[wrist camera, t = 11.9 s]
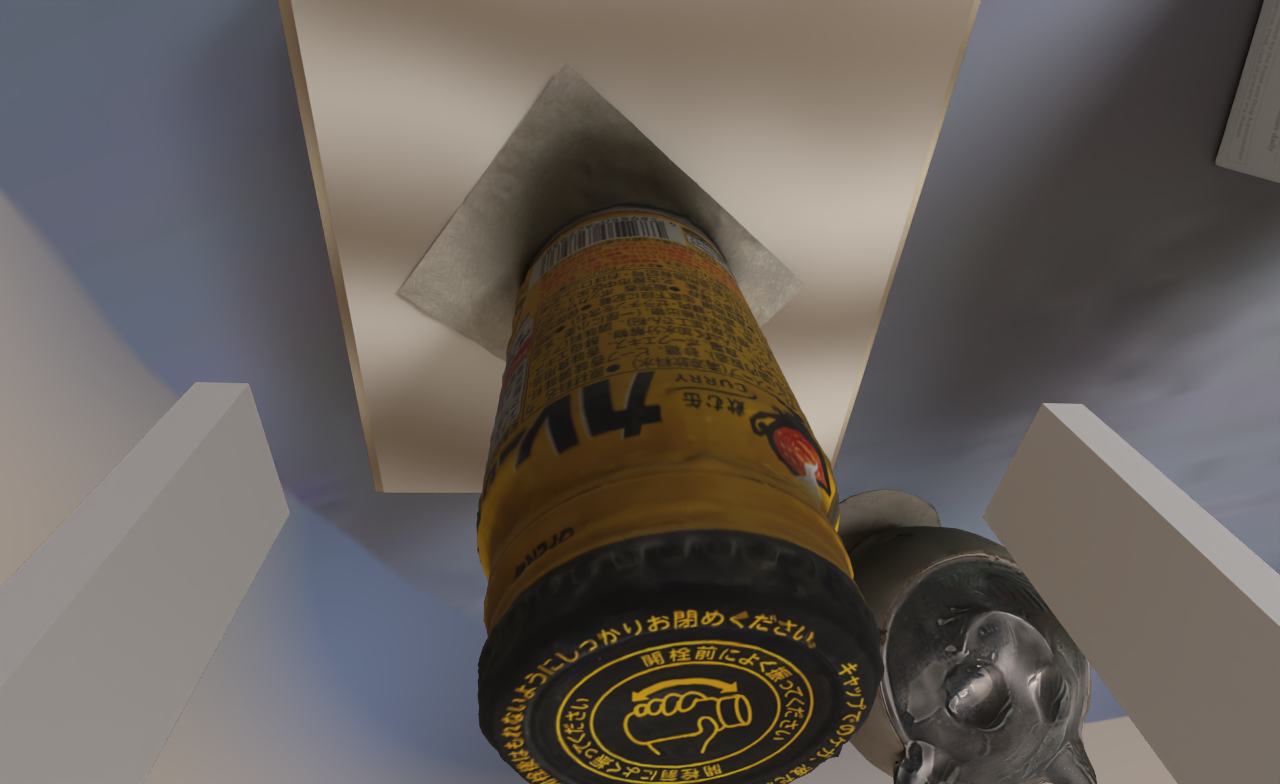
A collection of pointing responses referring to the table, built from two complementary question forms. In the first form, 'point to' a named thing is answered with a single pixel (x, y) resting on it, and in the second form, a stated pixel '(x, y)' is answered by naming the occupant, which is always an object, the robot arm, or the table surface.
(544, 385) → the condiment
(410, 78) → the podium
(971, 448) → the table surface
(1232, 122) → the supplement box
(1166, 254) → the table surface
